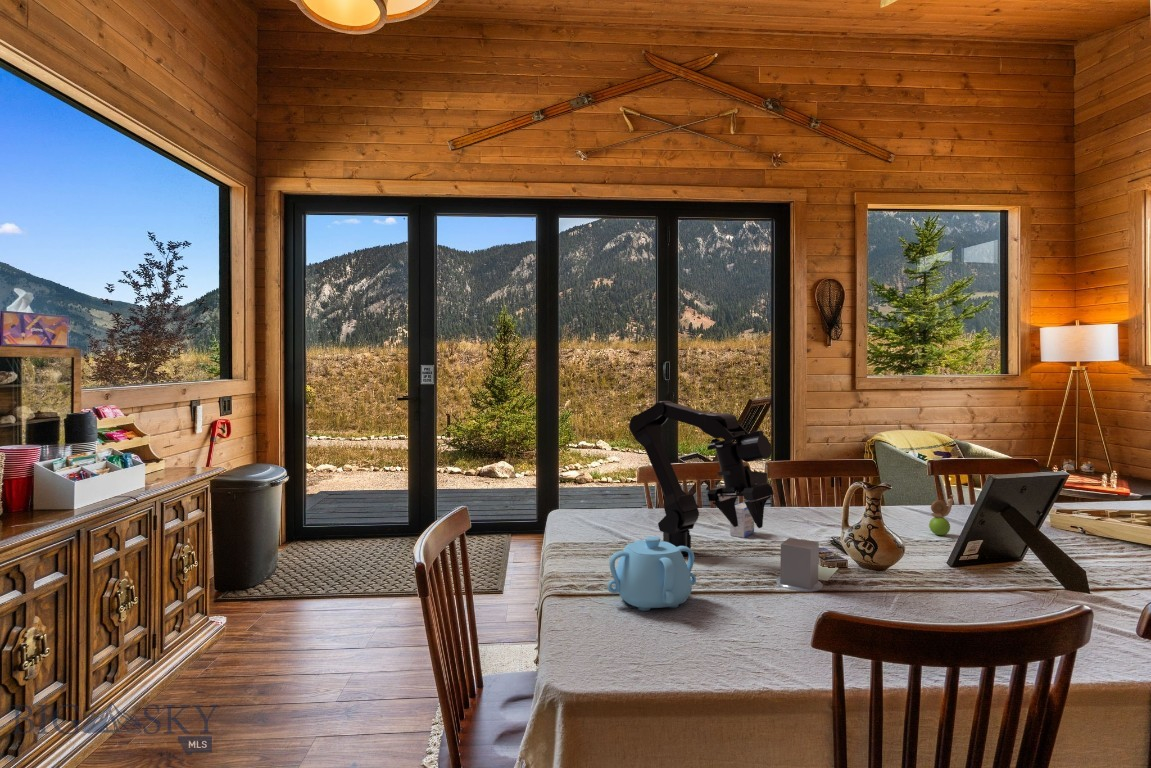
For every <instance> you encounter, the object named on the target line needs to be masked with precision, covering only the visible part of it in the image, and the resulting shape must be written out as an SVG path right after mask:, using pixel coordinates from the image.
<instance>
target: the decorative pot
mask: <svg viewBox="0 0 1151 768" xmlns="http://www.w3.org/2000/svg"><path fill="white" fill-rule="evenodd" d="M681 551H686V552H688V554H689V555H688V560H687V562H686V560H685V556H683V555H682V553H681ZM617 559H618V561H617ZM695 559H696V558H695V553H694V551H693V550H692V548H691V549H690V548H688V547H686V546H678V547H676V546H674V545H673V544H671V543H668V542H665V541H663V540H661V538H660V537H657V536H653V535H652V536H646V537H645V538H644V540H643V539H637V540H635V541H634V542H630V543H627V545H625V547H624V549H623V550H619V551H616V552H615V553H613V554H612V555H611V556H610V558H609V562H608V564H609V565H608V566H609V570H610V573H611V575H612V576H611V577H612V578H613V579H611V580H609V581H608V582H607V585H606V588H607V590H608V592H610V593H611V594H618V595H619V596H620V598H621V599H622V600H623V601H624V602H626V604H629V605H630V606H633V607H636V608H637V610H639V611H641V612H642V611H644V612H646V611H648V612H649V611H650V610H651V609H658V608H661V609H662V608H673V609H675V608H679V605H681V604H683V603H685V602H686V601H687V599H689V597H690V595H691V593H692V586H693V585H695V584H696V582H697V578H696V575H695V574H694V573H693V572H692V570H693V568H694V563H695ZM616 561H617V564H616ZM615 564H616V565H615ZM613 584H614V587H612V585H613Z"/></svg>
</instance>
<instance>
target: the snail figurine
mask: <svg viewBox="0 0 1151 768" xmlns="http://www.w3.org/2000/svg"><path fill="white" fill-rule="evenodd" d="M950 497H951V498H948V499H947V503H946V502H945V501H944V500H941V499H938V500H937V499H936V500H934V501H932V503H931V505H930V510H931V513H930V514H931V515H932V516H933V518H932V519H930V521H929V523H928V527H929V530H930V531H931V532H932V533H933V534H934V535H937V536H945V535H947V534H948V533H949V532H950V531H951V524H950V521H949V520H948V519H947V518H945V517H947V516H949V514H950V513H951V511H952V507H953V503H954V500H953V499H954V497H955V496H954V495H953V494H950Z"/></svg>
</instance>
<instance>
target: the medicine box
mask: <svg viewBox="0 0 1151 768" xmlns="http://www.w3.org/2000/svg"><path fill="white" fill-rule="evenodd" d="M735 509H736V514H737V520H738V526H737V527H734V526H733V525H732V524H731V523H730V522H729V525H730V526H729V536H731V537H737V538H742V539H744V538H747V537H749V536H750V535H752V534H754V533H755V522H754V520H753V518H752V516H751V514H750V512H749V510H748V508H747V506H746V504H745V502H740V503H737V504H735Z"/></svg>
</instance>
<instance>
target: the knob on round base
mask: <svg viewBox="0 0 1151 768" xmlns="http://www.w3.org/2000/svg"><path fill="white" fill-rule="evenodd" d="M775 582H776V584H777V585H778V586H780V587H782V588H784V589H787V590H790V591H795V592H796V591H797V592H809V593H810V592H817V591H821V590H822V589H823V583H822V582H821V581H819V580H818V582H817V583H816V584H815V585H814V586H813V587H812V588H811V589H810V590H809V589H804V588H799V587H794V586H790V585H785V584H780V576H779V577H777V578H776V580H775Z"/></svg>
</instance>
